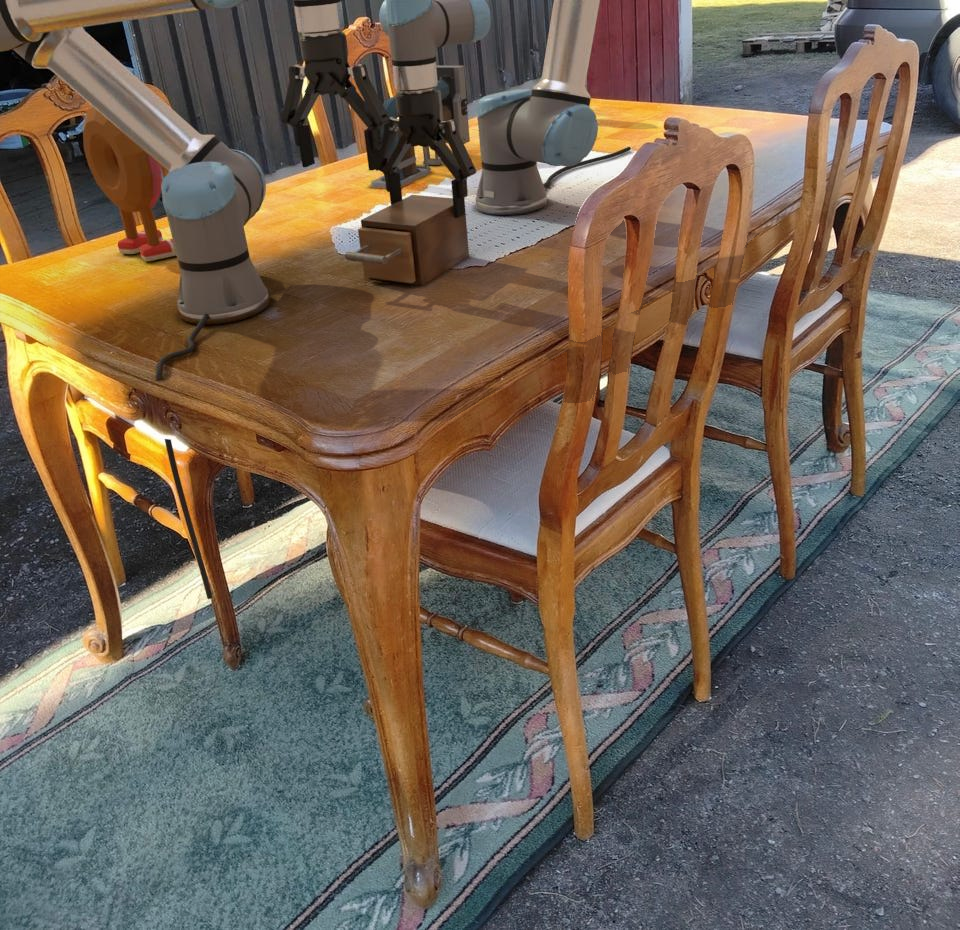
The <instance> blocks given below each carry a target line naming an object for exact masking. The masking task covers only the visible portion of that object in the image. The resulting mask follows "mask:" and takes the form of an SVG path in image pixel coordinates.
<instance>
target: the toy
mask: <svg viewBox="0 0 960 930" xmlns="http://www.w3.org/2000/svg"><path fill="white" fill-rule="evenodd" d="M82 139H83V151H84V155H85V159H86V162H87V165H88V168H89V170H90V173H91V174H92V176H93V178H94V181H95V183H96V184H97V185H98V187H99V188H100V190H101V191H102V192H103V194H104V195H105V196H106V197H107V198H108V199H109V200H110V201H111V203H112V204H114V205H115V206H117V207H118V211H119V214H120V218H121V222H122V226H123V230H124V233H125V237H124V238H122V239H120V240H118V242H117V248H118V251H119V253H121V254H124V255H125V254H126V255H136V254H138V253H140V257H141V259H142V260H143V261H144V262H154V261H157V260H162V259H167V258H173V257H177V255H176V251H175V247H174V243H173V239H172V238H169V239H164V237H163V233H162V231H161V230H160V229H158V227H157V223H156V218H155V215H154V211H153V208H154V207H155V205H156V203H157V202H158V200H159V198H160V196H161V194H162V190H161V184H162V181H163V178H162V175H163V174H162V166H161V165H160V164H159V163H157V162H156V161H155V160H154V159H153V158H152V157H150V156H149V155H148V154H147V153H146V152H145V151H144V150H142V149H141V148H140V147H139V146H138V145H137V144H136V143H134V142H133V141H132V140H131V139H130V138H129V137H127V136H126V135H125V134H124V133H123V132H122V131H121V130H119V129H118V128H117V127H116V126H115V125H114V124H112V123H111V122H110V121H109V120H108V119H107V118H106V117H104V116H103V115H102V114H101V113H100V112H99V111H97V110H96V109H95V108H94V107H93V106H92V105H91V107H89V108H88V109H87V112H86V115H85V118H84V121H83V128H82ZM134 213H139V215H140V218H141V221H142V222H141V223H142V225H143V229H142V230H140V231H138V229H137V225H136V219H135V215H134Z"/></svg>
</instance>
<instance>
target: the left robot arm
mask: <svg viewBox="0 0 960 930" xmlns="http://www.w3.org/2000/svg"><path fill="white" fill-rule="evenodd" d="M247 1H249V0H0V53H1V52H6V51H11V50H13V51H14V52H15V53H16V54H17V55H19V56H20V57H21V58H22V59H24V61H26V62H27V63H28V64H29V65H30V66H32V67H33V68H34V69H48V70H50V71H51V72H52V73H53V74H54V75H56V76H57V77H58V78H59V79H60V80H61V81H63V82H64V83H65V84H66V85H67V86H68V87H70V89H72V90H73V91H74V92H76V93H77V94H78V95H79V97H81V98H83V100H85V101H86V102H87V103H88V104H89V105H90V106H91V107H92V106H93V107H94V108H95V109H96V110H97V111H99V112H100V113H101V114H102V115H103V116H104V117H106V118H107V119H108V120H109V121H110V122H111V123H112V124H114V125H115V126H116V127H117V128H118V129H119V130H121V131H122V132H123V133H124V134H125V135H126V136H127V137H129V138H130V139H131V140H132V141H133V142H134V143H136V144H137V145H138V146H139V147H140V148H141V149H142V150H144V151H145V152H146V153H147V154H148V155H149V156H150V157H152V158H153V159H154V160H155V161H156V162H157V163H159V164H160V165H161V168H163V170H165V171H166V172H167V174H166V175H165V176H164V177H163V178H162V184H161V195H162V196H161V198H162V205H163V208H164V210H165V214H166V219H167V223H168V226H169V230H170V231H169V232H170V234H171V239H173V243H174V247H175V251H176V255H177V256H176V258H177V262H178V266H179V283H178V294H177V310H178V314H179V318H180V319H182V320H183V321H184V322H186V323H189V324H193V325H196V326H195V327H194V329H193V330H192V332H191V333H190V334H189V336H188V339H187V340H186V341H187V346H188V347H186V348H183V349H181V350H177V351H173V352H170V353H168V354H166V355H164V356H163V357H161V358H160V359H159V360H158V361H157V363H156V369H155V371H156V372H155V382H161V381H162V380H163V371H164V365H165V364H166V363H168V362H169V361H171V360H174V359H176V358H179V357H182V356H186V355H189V354H190V353H192V352H194V350H195V348H196V345H195V343H194V341H195V339H196V338H197V336H198V334H199V333H200V332H201V330H202V329H203V328H204V326H205V325H206V326H210V325H222V324H230V323H233V322H239V321H241V320H245V319H248V318H251V317H253V316H256V315H258V314H260V312H263V311H264V310H265V309H266V308H267V307H268V306H269V305H270V296H269V291H268V288H267V287H266V284H265V283H264V282H263V280H262V278H261V276H260V274H259V272H258V270H257V269H256V267H255V265H254V264H253V262H252V260H251V257H250V251H249V246H248V241H247V236H246V232H245V226H246V224H247V223H248V222H249V221H250V220H251V219H253V217H255V215H256V214H257V213H258V212H259V211H260V210H261V208H262V204H263V202H264V200H265V197H266V193H267V182H266V177H265V174H264V172H263V169H262V167H261V166H260V165H259V163H258V162H257V161H256V160H255V159H254V158H253V157H252V156H251V155H249V154H248V153H246V152H245V151H242V150H238V149H231V148H230V147H228V146H227V145H226V144H225V143H224V142H223V141H221V140H220V139H219V138H218V137H217V136H216V135H215V134H201V133H200V132H199V131H198V130H197V129H195V128H194V127H193V126H192V125H191V124H189V123H188V121H186V120H185V119H184V118H183V117H182V116H181V115H179V114H178V113H177V112H176V111H175V110H174V109H173V108H172V107H170V106H169V105H168V104H167V103H166V102H165V101H164V100H163V99H162V98H160V96H158V95H157V94H156V93H155V92H154V91H153V90H151V89H150V87H148V86H147V85H146V84H145V83H144V82H142V80H141V79H140V78H138V77H137V76H136V75H135V74H134V73H132V72H131V70H130V69H128V68H127V67H126V66H125V65H124V64H123V63H122V62H120V61H119V59H117V58H116V57H115V56H114V55H112V54H111V52H110V51H108V50H107V49H106V48H105V47H104V46H102V45H101V44H100V43H99V42H98V41H97V40H96V39H94V37H92V36H91V34H89V33H88V32H87V31H85V29H84V27H92V26H99V25H107V24H112V23H120V22H126V21H133V20H139V19H140V20H141V19H148V18H153V17H160V16H167V15H175V14H181V13H187V12H195V11H201V10H211V9H220V10H224V9H231V8H235V7H238V6H240V5H241V4H243V3H244V2H247ZM292 1H293V8H294V14H295V15H294V16H295V22H296V29H297V32H298V33H299V34H302V35H301V36H300V37H299V38H298V40H299V47H300V52H301V53H300V54H301V58H302V60H303V61H304V66H303V64H302V63H298V64H294V65H291V66H289V67H288V77H289V81H288V87H287V90H286V95H285V100H284V105H283V109H282V112H281V119H280V120H281V123H283V124H287V125H289V126H291V127H292V131H293V135H294V142H295V145H296V147H299V154H300V160H301V166H302V168H308V167H310V166H312V165H315V164H316V161H315V154H314V148H313V142H312V136H311V130H310V125H309V124H307V122H306V121H307V119H308V117H309V115H310V113H311V111H312V109H313V107H314V106H315V103H316V102H317V100H318V98H319V96H322V95H323V96H325V95H327V94H328V95H330V96H337V95H338V96H339V97H340V98H342V99H343V100H344V101H345V102H346V103H347V104H348V106H350V108H351V109H352V110H353V112H354V113H355V114H356V115H357V116H358V118H359V119H360V120H361V121H362V123H363V124H364V125H365V127H367V128H366V129H364V130H363V134H364V135H363V136H364V142H365V143H364V144H365V150H366V157H367V166H368V171H376V170H375V169H377V168H379V167H381V162H380V154H379V148H381V147H382V139H381V131H380V128H381V126H382V125H384V124H386V123H389V122H390V118H389V116H388V114H387V112H386V110H385V108H384V106H383V102H382V100H381V99H380V97H379V94H378V93H377V91H376V89H375V87H374V84H373V83H372V81H371V79H370V77H369V72H368V67H367V65H366V64H365V63H363V62H362V63H359V64H357V65H352V66H351V65H350V63H349V61H348V59H349V47H348V40H347V34H346V33H345V32H344V31H342V30H344V28H345V20H344V11H343V4H342V3H343V2H342V0H292ZM350 78H351V79H352V80H353V81H354V83H355V85H354V84H353V82H352V81H351V79H350ZM305 79H307V81H308V84H307V86H306V88H305V90H304V95H303V97H302V98H301V95H302V91H303V87H304V82H305ZM357 90H358V91H359V92H358V91H357ZM300 99H301V101H300ZM164 443H165V448H166V452H167V456H168V457H167V458H168V461H169V465H170V470H171V474H172V477H173V481H174V485H175V489H176V492H177V495H178V500H179V504H180V506H181V511H182V514H183V517H184V522H185V524H186V528H187V531H188V535H189V538H190V541H191V544H192V548H193V552H194V556H195V558H196V562H197V565H198V569H199V572H200V576H201V579H202V584H203V587H204V591H205V594H206V599H208V600H211V599H213V598H214V597H213V593H212V589H211V585H210V582H209V578H208V574H207V570H206V567H205V563H204V560H203V556H202V552H201V549H200V545H199V542H198V539H197V535H196V532H195V528H194V524H193V521H192V518H191V514H190V511H189V507H188V503H187V500H186V496H185V492H184V489H183V485H182V481H181V478H180V473H179V469H178V466H177V461H176V456H175V453H174V449H173V447H174V446H173V443H172V439H169V438H164Z"/></svg>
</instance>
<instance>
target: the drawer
mask: <svg viewBox="0 0 960 930" xmlns="http://www.w3.org/2000/svg"><path fill="white" fill-rule="evenodd" d="M357 234H358V241H359V248H358V249H357V250H354V251H347V252H346V253H345V260H347V261H349V262H357V263H358V262H359V263H362V269H363V276H364V277H365V278H369V277H370V278H377V279H385V280H392V281H399V282H406V283H414V282H415V281H416V278H415V275H416V272H415V263H414V255H413V246H412V237H411V231H406V230H397V229H387V228H378V227H372V228H362V227H360V228H358V229H357ZM370 278H369V279H370ZM377 279H376V280H377ZM399 282H398V283H399ZM406 283H405V284H406Z"/></svg>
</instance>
